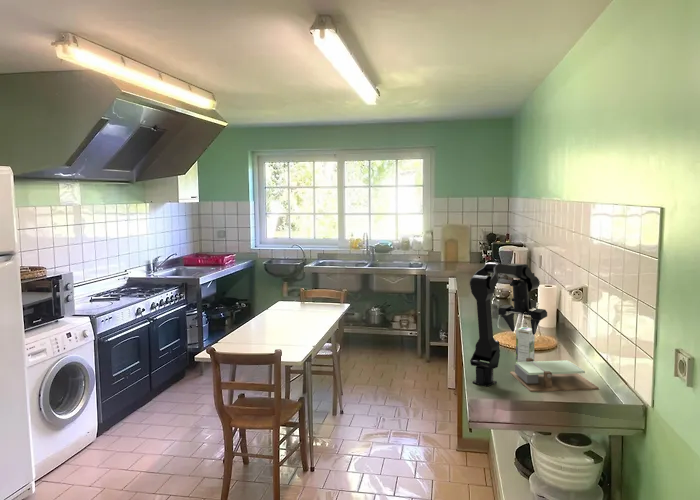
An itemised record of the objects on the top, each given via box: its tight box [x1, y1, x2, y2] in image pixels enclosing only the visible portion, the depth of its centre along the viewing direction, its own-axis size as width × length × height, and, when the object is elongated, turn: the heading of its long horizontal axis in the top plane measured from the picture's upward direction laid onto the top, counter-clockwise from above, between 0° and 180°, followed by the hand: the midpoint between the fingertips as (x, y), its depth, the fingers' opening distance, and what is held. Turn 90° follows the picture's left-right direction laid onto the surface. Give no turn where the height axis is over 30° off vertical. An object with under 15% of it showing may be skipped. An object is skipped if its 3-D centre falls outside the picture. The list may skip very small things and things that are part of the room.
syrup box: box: [515, 326, 536, 363], centre depth 221 cm, size 6×6×14 cm
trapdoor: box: [514, 359, 586, 384], centre depth 198 cm, size 20×14×4 cm
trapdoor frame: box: [509, 358, 600, 393], centre depth 198 cm, size 24×22×6 cm
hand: (523, 332), depth 215 cm, fingers open, 9 cm apart
